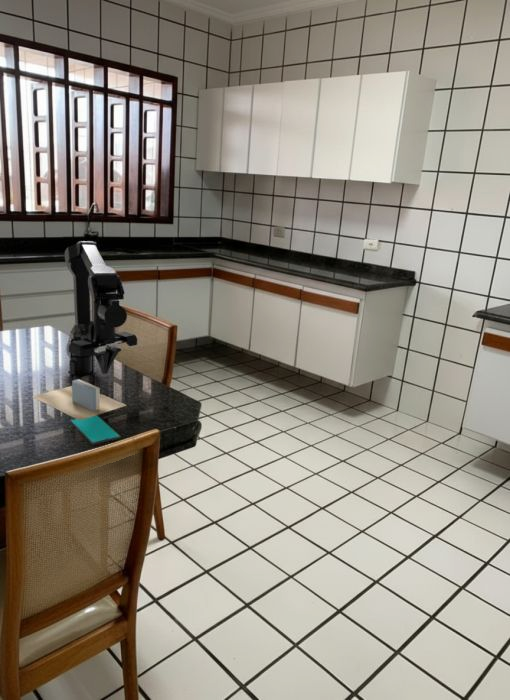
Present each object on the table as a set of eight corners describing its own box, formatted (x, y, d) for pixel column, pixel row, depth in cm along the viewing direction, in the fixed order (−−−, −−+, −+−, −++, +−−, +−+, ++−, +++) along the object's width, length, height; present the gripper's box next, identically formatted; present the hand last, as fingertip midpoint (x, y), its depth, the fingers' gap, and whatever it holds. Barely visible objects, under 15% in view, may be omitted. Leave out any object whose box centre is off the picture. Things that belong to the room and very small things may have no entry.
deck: (79, 399, 149) (79, 379, 147) (99, 408, 143) (99, 387, 142) (72, 401, 147) (72, 380, 145) (92, 411, 142) (92, 389, 140)
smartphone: (96, 414, 140) (121, 436, 129) (96, 417, 140) (121, 439, 129) (68, 419, 136) (91, 443, 124) (68, 422, 136) (91, 446, 125)
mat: (78, 385, 160) (78, 384, 160) (126, 406, 147) (126, 405, 147) (31, 397, 148) (31, 396, 148) (79, 422, 136) (79, 420, 136)
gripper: (113, 308, 155) (113, 359, 159) (55, 316, 141) (57, 373, 145) (139, 315, 149) (138, 369, 153) (81, 325, 134) (82, 384, 139)
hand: (104, 373), depth 148 cm, fingers closed
